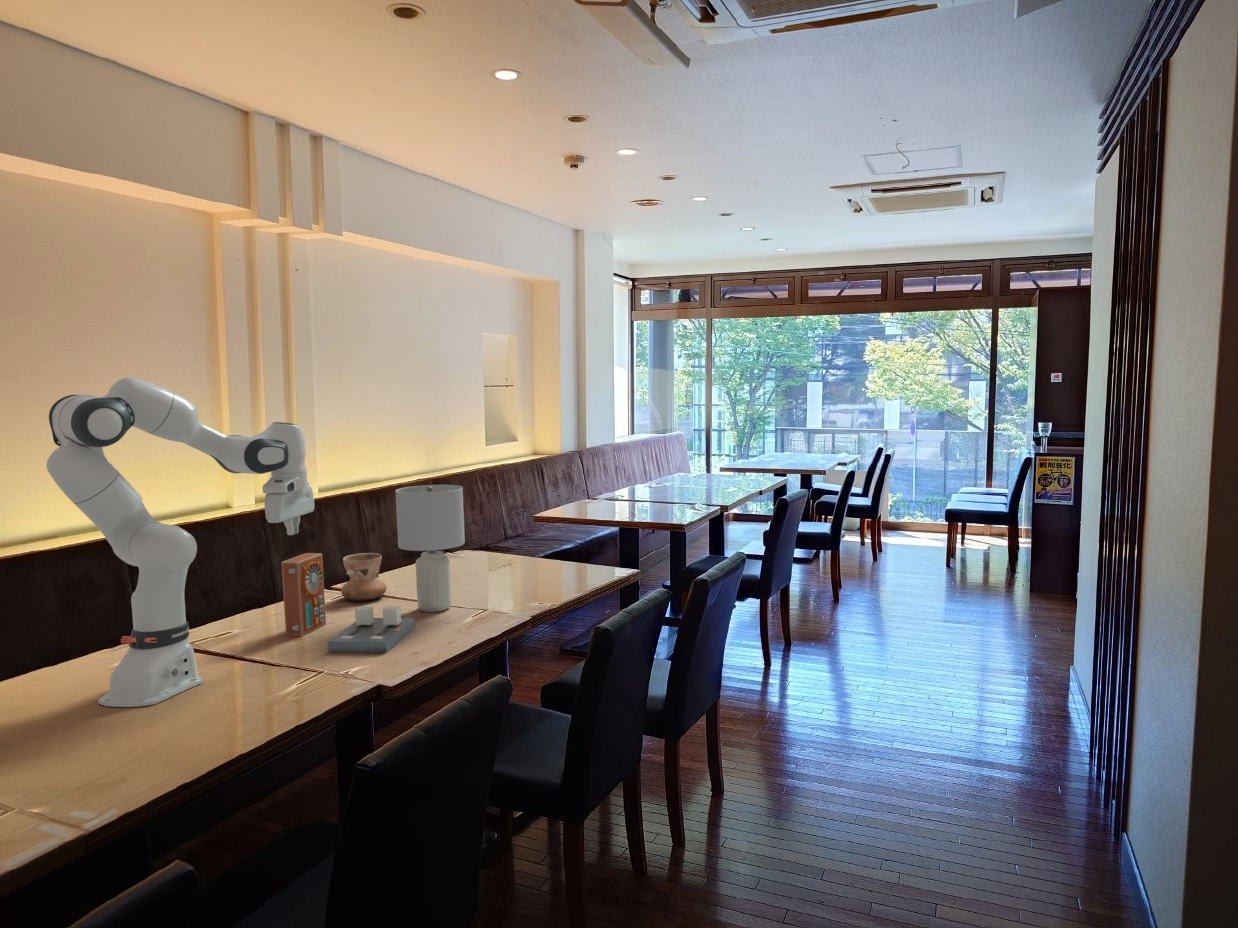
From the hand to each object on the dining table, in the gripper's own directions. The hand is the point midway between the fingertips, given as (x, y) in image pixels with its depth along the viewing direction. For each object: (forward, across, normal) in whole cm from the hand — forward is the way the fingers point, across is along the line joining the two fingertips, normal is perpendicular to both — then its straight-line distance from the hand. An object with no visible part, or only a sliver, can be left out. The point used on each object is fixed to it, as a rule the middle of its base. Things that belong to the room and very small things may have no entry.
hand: (292, 534), depth 223 cm
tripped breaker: (+28, -11, +22) cm, 37 cm away
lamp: (+31, -39, +25) cm, 56 cm away
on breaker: (+28, -11, +14) cm, 33 cm away
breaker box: (+31, -7, +18) cm, 37 cm away
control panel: (+31, -16, -6) cm, 36 cm away
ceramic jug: (+31, -52, -3) cm, 61 cm away
